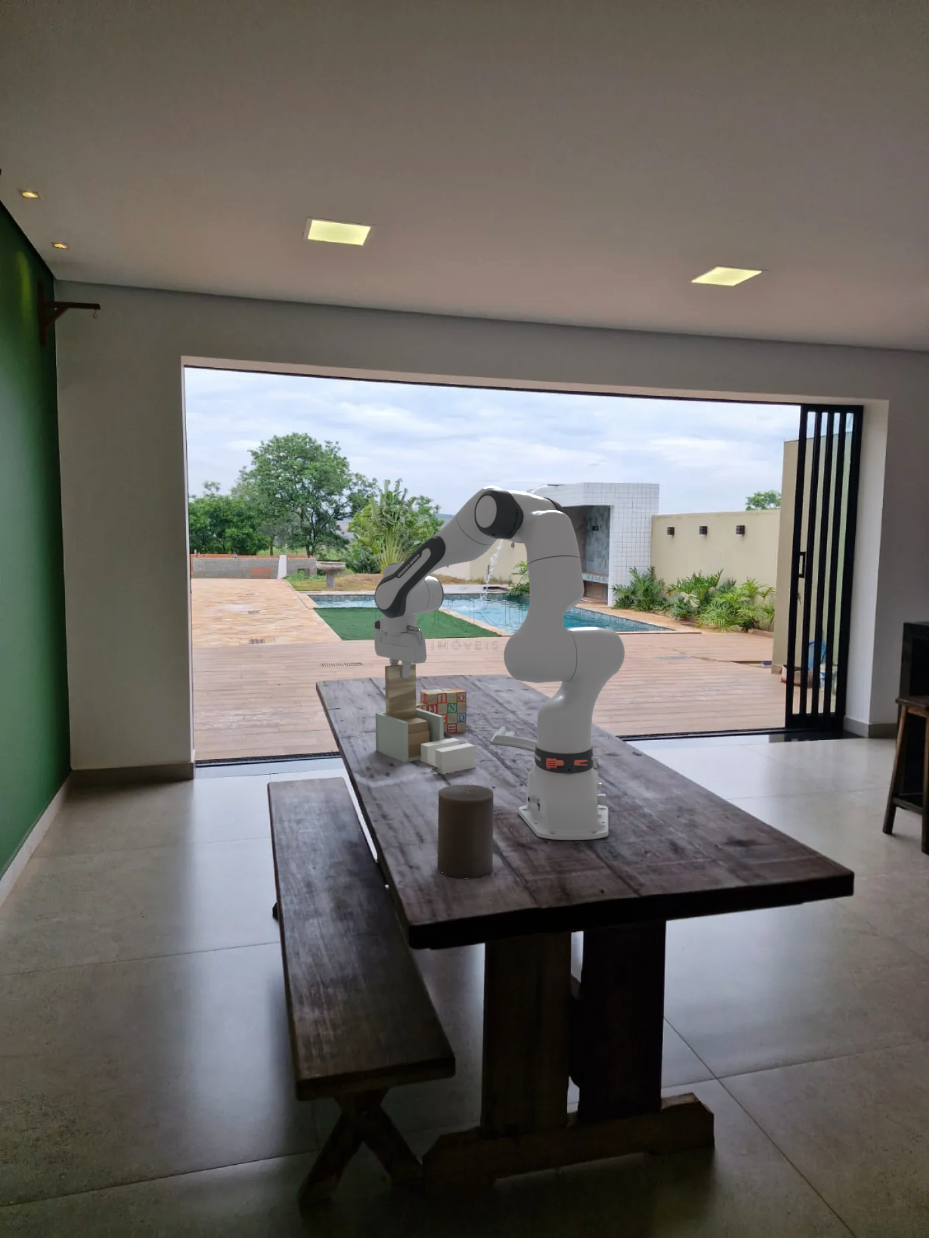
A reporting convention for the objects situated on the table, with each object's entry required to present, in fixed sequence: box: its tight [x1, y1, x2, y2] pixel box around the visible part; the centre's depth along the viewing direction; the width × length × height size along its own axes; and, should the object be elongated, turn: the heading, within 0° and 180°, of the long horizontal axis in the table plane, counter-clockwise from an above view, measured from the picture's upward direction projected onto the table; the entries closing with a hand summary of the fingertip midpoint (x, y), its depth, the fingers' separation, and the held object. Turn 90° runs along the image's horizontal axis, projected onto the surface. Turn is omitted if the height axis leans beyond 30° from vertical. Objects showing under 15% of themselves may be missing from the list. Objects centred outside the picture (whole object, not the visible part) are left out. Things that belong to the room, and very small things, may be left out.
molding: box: [489, 725, 599, 769], centre depth 220 cm, size 42×12×3 cm, turn 34°
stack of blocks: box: [416, 687, 468, 734], centre depth 239 cm, size 21×6×12 cm, turn 112°
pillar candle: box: [437, 783, 494, 879], centre depth 143 cm, size 10×10×15 cm
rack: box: [375, 708, 445, 763], centre depth 214 cm, size 14×12×11 cm
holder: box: [419, 737, 477, 775], centre depth 205 cm, size 10×10×6 cm
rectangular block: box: [384, 663, 417, 720], centre depth 216 cm, size 2×8×15 cm, turn 127°
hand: (400, 676), depth 215 cm, fingers closed on rectangular block, 2 cm apart
